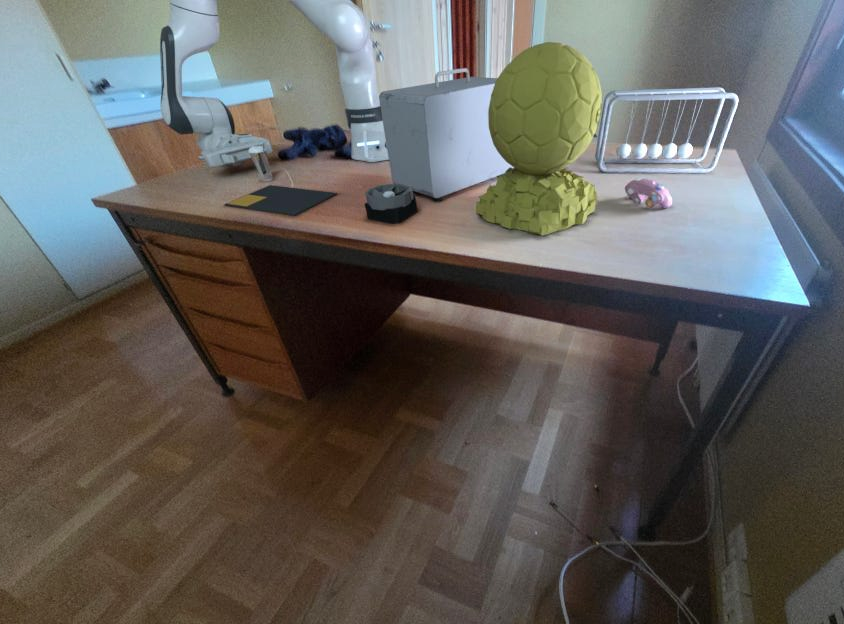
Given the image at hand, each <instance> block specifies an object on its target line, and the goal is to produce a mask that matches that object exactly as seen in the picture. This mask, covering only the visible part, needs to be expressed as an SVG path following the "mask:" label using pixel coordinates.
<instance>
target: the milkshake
mask: <svg viewBox="0 0 844 624" xmlns="http://www.w3.org/2000/svg"><path fill="white" fill-rule="evenodd" d="M248 152H249V154H250V156H251V161H252V163H253V165H254V168H255V169H256V173H257V174H258V176H259V178H260V181H261V182H264V183H265V182H266V183H267V182H270V181H273V180H274V178H273V173H272V170H271V166H270V163H269V159H268V154H267V155H266V151H265V148H264V143H263V147H261V146H253V147H251V148H249V151H248Z"/></svg>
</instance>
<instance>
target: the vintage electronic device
mask: <svg viewBox="0 0 844 624" xmlns="http://www.w3.org/2000/svg"><path fill="white" fill-rule="evenodd" d="M462 73H465V76H466V77H463V78H462V77H461V78H456V79H450V80H443V81H439V77H442V76H447V75H454V74H462ZM497 79H498V77H481V76H470V71H469V69H468V68H466V67H463V68H456V69H449V70H448V69H447V70H441V71H437V72H436V73H435V76H434V82H432V83H426V84H419V85H413V86H407V87H401V88H395V89H389V90H383V91H381V92H379V101H380V107H381V113H382V120H383V126H384V132H385V139H386V145H387V151H388V157H389V160H388V163H389V169H390V176H391V182H392V184H403V185H406V186H408V187H412V189H413V193H414V192H415V193H418V194H421V195H424V196H427V197H430V198H433V201H434V202H442V201H444V197H445V196H447V195H450V194H453V193H455V192H458V191H461V190H463V189H467V188H469V187H472V186H474V185H477V184H480V183H483V182H485V181H488V180H491V179H493V178H496V177H498V176H501V175H504V174H505V172H506V170H507V169H509V168H510V167H511V168H512V169H514V167H513V166H511V165H510V164H508V163H507V162H506V161H505V160H504V159H503V158H502V156H501V155H500V154H499V153H498V151H497V149H496V148H495V146H494V144H493V141H492V138H491V135H490V131H489V120H488V110H489V104H490V99H491V94H492V91H493V88H494V85H495V82H496V80H497Z"/></svg>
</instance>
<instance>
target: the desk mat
mask: <svg viewBox="0 0 844 624" xmlns="http://www.w3.org/2000/svg"><path fill="white" fill-rule="evenodd" d="M337 195H338V193H337V192H333V191H323V190H316V189H315V190H313V189H307V188H299V187H297V188H296V187H289V186H281V185H273V184H270V185H267V186H265V187H262V188H260V189H257V190H255V191H253V192H250V193H247V194H246V195H243V196H241V197H239V198H236V199H233V200H231V201H229V202H226V203H224V207H231V208H239V209H245V210H251V211H258V212H265V213H273V214H279V215H286V216H292V217H296V216H299V215H300V214H302V213H305V212H306V211H309V210H310V209H313V208H314V207H316V206H318V205H320V204H322V203H323V202H325V201H327V200H329V199H331V198H333V197H335V196H337Z"/></svg>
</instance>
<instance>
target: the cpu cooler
mask: <svg viewBox="0 0 844 624" xmlns="http://www.w3.org/2000/svg"><path fill="white" fill-rule="evenodd" d="M364 194H365V198H366V202H365V203H364V208H365V212H366V213H365V214H366V217H367V220H371V221H377V222H382V223H387V224H396V223H399V224H400V223H402V222H403V221H405V220H406V219H408V218H409V217H411V216H413V215H415V214H416V213H418V205H417V198H416V195H415V196H414V191H413V189H412V187H408V186H406V185H403V184H393V183H386V184H381V185H376V186H373V187H370V188H368V189H367V191H366V192H365V193H364Z"/></svg>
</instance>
